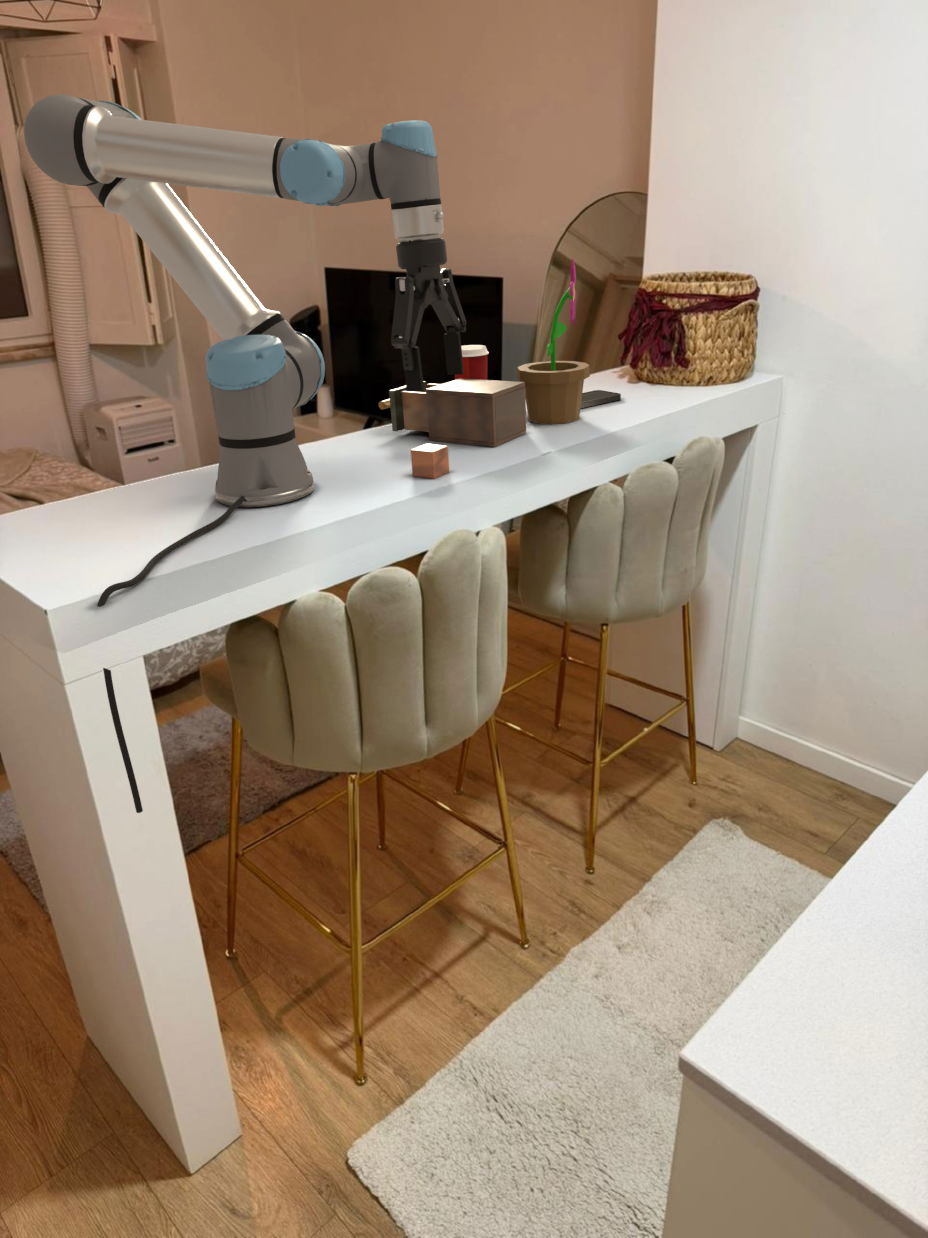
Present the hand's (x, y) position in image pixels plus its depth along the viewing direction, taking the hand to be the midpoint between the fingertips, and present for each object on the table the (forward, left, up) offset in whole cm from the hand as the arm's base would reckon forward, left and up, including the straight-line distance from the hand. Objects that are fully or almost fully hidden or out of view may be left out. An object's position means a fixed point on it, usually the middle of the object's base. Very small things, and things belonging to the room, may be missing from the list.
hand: (436, 382), depth 142 cm
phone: (+57, +2, -14) cm, 59 cm away
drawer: (+22, +19, -14) cm, 33 cm away
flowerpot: (+41, +1, -15) cm, 44 cm away
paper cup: (+37, +18, -15) cm, 44 cm away
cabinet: (+22, +7, -14) cm, 28 cm away
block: (-3, 0, -14) cm, 15 cm away
